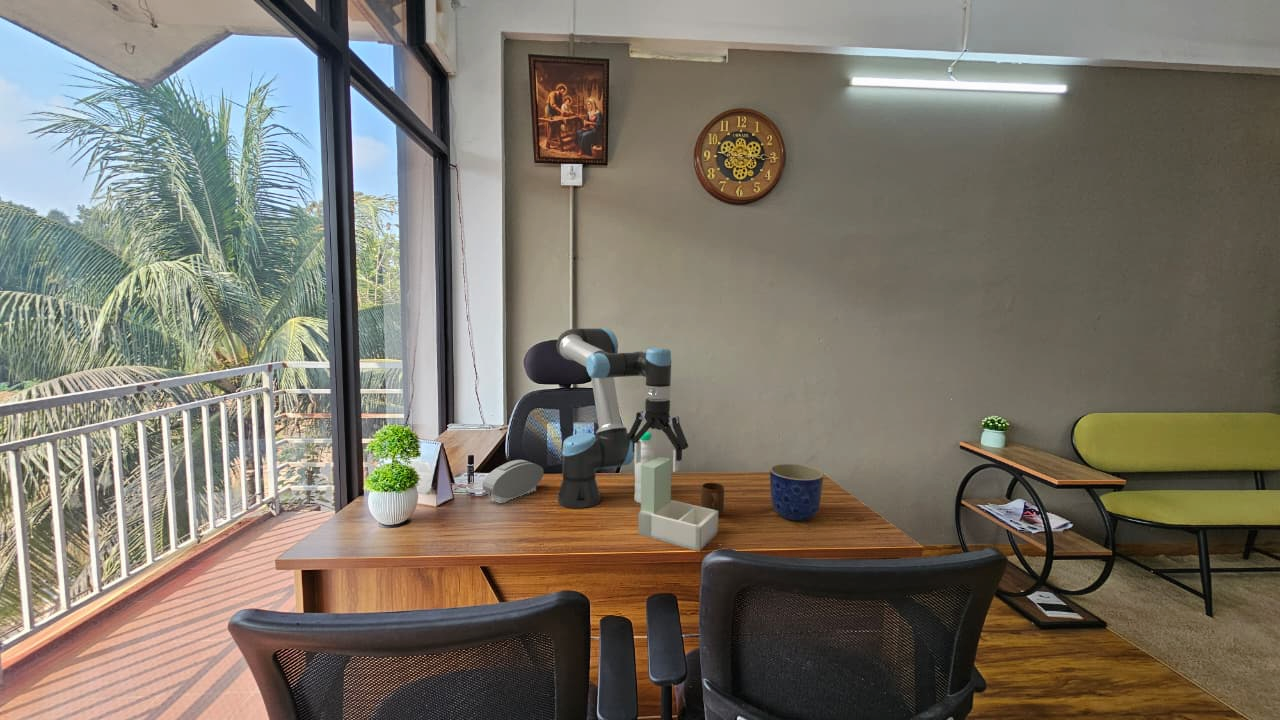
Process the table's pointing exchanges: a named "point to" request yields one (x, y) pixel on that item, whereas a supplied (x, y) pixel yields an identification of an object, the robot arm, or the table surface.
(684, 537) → the desk organizer
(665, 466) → the pale green block
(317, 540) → the table surface
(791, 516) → the planter
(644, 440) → the water bottle
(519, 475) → the grey rounded oblong block
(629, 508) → the table surface
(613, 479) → the table surface
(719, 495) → the mug
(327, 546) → the table surface
